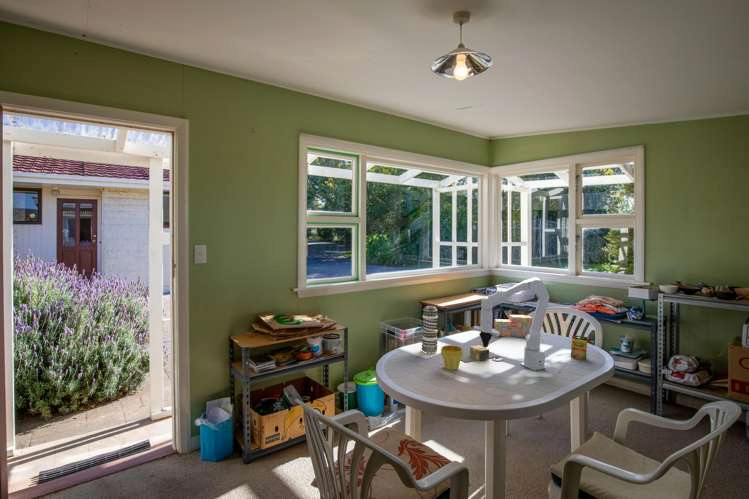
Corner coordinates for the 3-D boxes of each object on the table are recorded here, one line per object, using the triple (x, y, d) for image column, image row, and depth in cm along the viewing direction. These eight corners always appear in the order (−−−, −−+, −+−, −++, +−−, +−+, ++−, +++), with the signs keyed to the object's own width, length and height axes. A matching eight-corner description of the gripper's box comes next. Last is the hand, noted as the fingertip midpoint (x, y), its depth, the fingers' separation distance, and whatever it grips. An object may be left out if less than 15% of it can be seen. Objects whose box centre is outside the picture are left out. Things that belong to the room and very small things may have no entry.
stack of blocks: (496, 336, 260) (497, 316, 259) (494, 333, 266) (494, 314, 265) (531, 337, 259) (532, 317, 258) (528, 334, 265) (529, 315, 264)
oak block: (489, 349, 217) (479, 345, 225) (479, 350, 215) (470, 346, 222) (488, 358, 218) (479, 354, 225) (479, 360, 215) (469, 355, 223)
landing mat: (499, 356, 222) (499, 356, 222) (465, 362, 213) (465, 361, 213) (478, 346, 238) (478, 346, 238) (445, 351, 229) (445, 351, 229)
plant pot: (446, 372, 200) (446, 352, 199) (437, 364, 210) (437, 345, 209) (466, 370, 202) (466, 350, 202) (456, 363, 212) (456, 344, 212)
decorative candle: (429, 355, 223) (430, 309, 221) (417, 351, 230) (418, 306, 228) (441, 352, 229) (442, 307, 227) (428, 347, 236) (429, 304, 234)
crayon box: (570, 357, 222) (571, 336, 221) (570, 356, 225) (571, 334, 224) (586, 360, 218) (587, 338, 217) (586, 358, 221) (587, 336, 220)
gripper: (503, 322, 212) (502, 348, 213) (478, 316, 222) (477, 341, 223) (496, 324, 207) (495, 351, 208) (470, 319, 217) (470, 344, 218)
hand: (485, 346), depth 215 cm, fingers closed
